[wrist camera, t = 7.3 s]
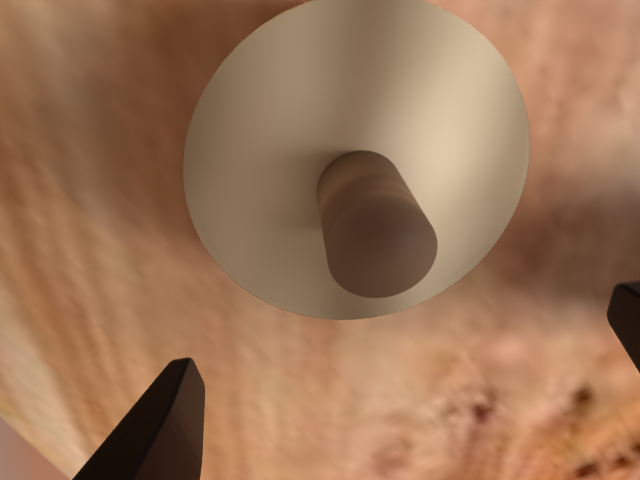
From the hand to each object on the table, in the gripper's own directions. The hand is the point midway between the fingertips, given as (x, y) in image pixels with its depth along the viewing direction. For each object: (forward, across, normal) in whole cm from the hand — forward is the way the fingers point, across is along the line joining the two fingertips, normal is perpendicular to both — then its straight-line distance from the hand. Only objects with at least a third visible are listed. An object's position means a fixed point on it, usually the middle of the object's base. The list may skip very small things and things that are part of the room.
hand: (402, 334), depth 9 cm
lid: (+8, 0, 0) cm, 8 cm away
